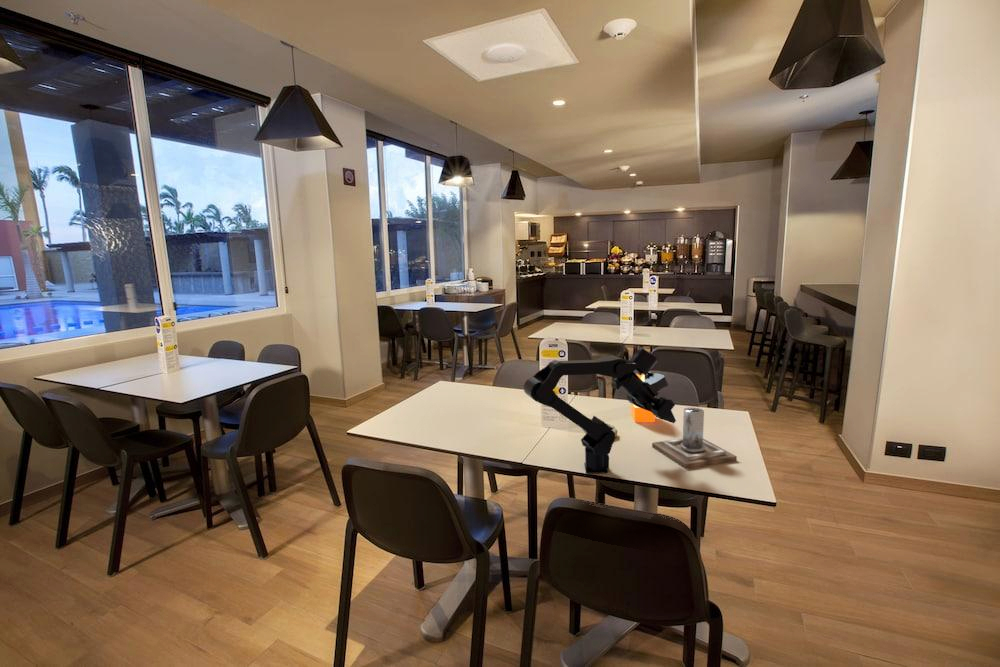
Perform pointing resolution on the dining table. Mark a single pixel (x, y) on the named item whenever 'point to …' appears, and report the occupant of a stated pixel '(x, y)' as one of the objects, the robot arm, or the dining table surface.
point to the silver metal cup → (693, 431)
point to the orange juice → (641, 410)
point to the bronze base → (690, 460)
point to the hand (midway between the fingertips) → (665, 417)
